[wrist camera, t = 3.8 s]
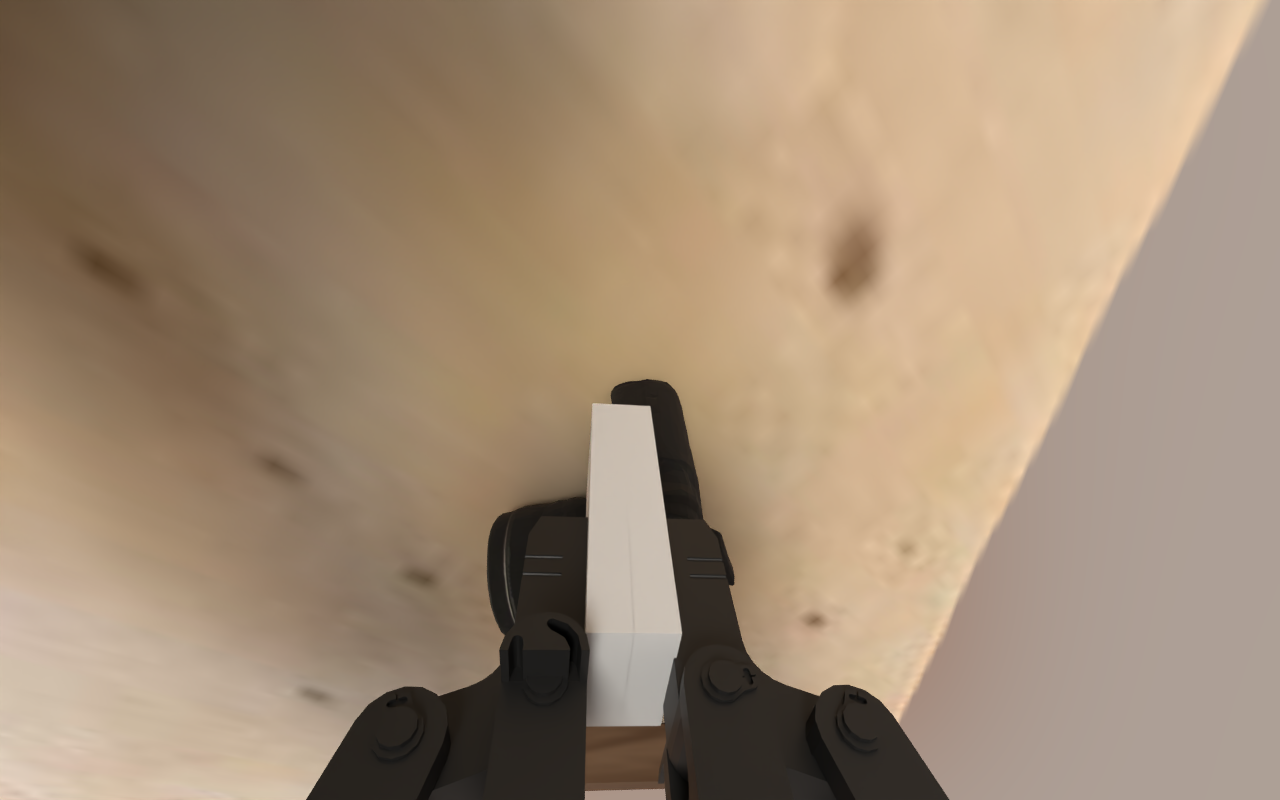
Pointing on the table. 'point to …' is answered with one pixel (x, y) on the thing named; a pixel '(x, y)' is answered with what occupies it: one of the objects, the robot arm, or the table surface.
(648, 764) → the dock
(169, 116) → the table surface
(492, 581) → the camera
